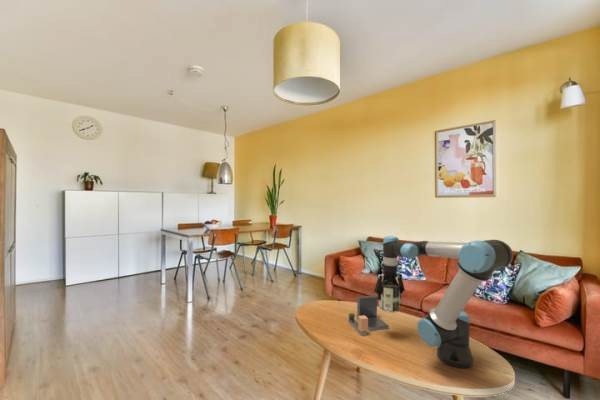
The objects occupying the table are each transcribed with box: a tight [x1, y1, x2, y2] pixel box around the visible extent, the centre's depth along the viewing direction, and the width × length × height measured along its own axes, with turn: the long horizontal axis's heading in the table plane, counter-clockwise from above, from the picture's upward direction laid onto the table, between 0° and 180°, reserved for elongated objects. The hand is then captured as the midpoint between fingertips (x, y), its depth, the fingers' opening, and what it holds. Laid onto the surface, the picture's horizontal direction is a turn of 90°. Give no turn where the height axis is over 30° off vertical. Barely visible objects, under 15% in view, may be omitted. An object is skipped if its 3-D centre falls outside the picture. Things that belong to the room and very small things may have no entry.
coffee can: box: [379, 281, 400, 314], centre depth 153 cm, size 10×10×14 cm
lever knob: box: [357, 315, 369, 332], centre depth 156 cm, size 4×4×7 cm
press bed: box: [356, 295, 389, 332], centre depth 168 cm, size 16×12×14 cm
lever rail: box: [348, 312, 368, 337], centre depth 162 cm, size 18×3×5 cm, turn 15°
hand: (389, 304), depth 153 cm, fingers closed on coffee can, 10 cm apart
